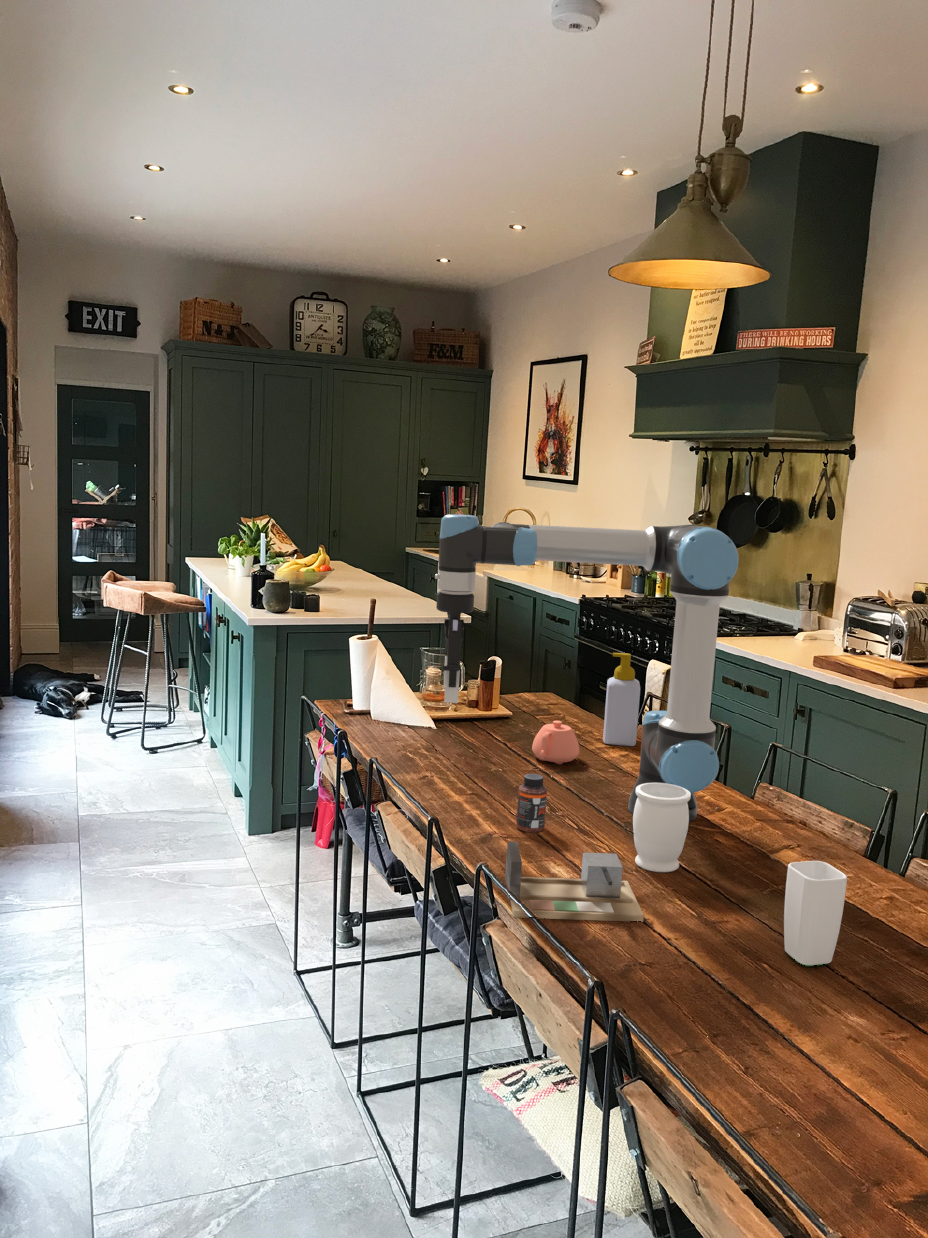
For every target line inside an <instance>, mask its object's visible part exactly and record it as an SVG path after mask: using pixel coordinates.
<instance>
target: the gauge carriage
mask: <svg viewBox="0 0 928 1238" xmlns="http://www.w3.org/2000/svg"><path fill="white" fill-rule="evenodd" d="M581 859H582V861H581V863H582V864H581V875H580V879H581V887H582V889H583V892H584V895H585V897H602V898H620V894H621V882H622V881H623V880H622V879H623V869H624V867H623V865H622V862H621V860H620V859H619V857H618V855H617V853H609V852H607V853H606V852H605V853H604V852H603V853H602V852H585V851H584V852H582V858H581Z"/></svg>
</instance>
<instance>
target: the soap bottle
mask: <svg viewBox="0 0 928 1238" xmlns="http://www.w3.org/2000/svg"><path fill="white" fill-rule="evenodd" d="M612 657H615V658H617V657H618V658H620V665H618V666H617V667H615V669H614V674H613V676H612V677H609V678H607V680H606V681H607V682H606V683H607V684H606V696H605V697H606V698H605V707H604V721H603V724H604V725H603V732H602V733H603V736H602V737H603V738H602V741H603V743H604V744H607V745H614V746H615V745H616V746H622V747H623V746H625V747H634V746H635V745H637V735H638V734H637V733H638V725H639V724H638V723H639V711H640V710H639V709H640V698H641V697H640V696H641V685H640V681H639V680H638V679H636V678H635V676H636V671H635V669H634V668H633V667H632V666H631V657H632V655H631V653H627V652H626V653H625V652H612Z"/></svg>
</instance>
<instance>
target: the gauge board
mask: <svg viewBox="0 0 928 1238" xmlns="http://www.w3.org/2000/svg"><path fill="white" fill-rule="evenodd" d="M522 864H523V860H522V856H521V851H520V847H519V843H518V841H507V844H506V859H505V872H504V873H505V874H504V880H505V884H507V886H508V887H509V889H510V891H511V892H512V893H513V894H514V895H515V896H516V897H518V898H519V899H520V900H521V901H522V902H524V904H525V905H526V906H527V907H528V908H529V909H530V910H531V911H532V912H533V913H534V914H536V915H537V916H538V917H539V918H538V919H544V918H545V920H546V919H550V920H551V919H552V920H576V921H578V920H579V921H580V920H581V921H600V922H601V921H605V922H606V921H607V922H609V921H610V922H630V921H637V923H639V922H638V921H641V922H640V923H643V922H644V918H645V917H644V916H645V915H644V913H643V911H642V909H641V907H640V904H639V902H638V901H637V898H636V895H635V894H634V891H633V890H632V887H631V885H630V883H629V881H628V880H622V882H621V894H620V898H602V897H585V895H584V892H583V889H582V887H581V878H566V877H565V878H560V877H539V876H538V877H537V876H536V877H534V876H532V877H531V876H522V866H523V865H522ZM507 886H506V887H507ZM507 897H508V901H510V907H511V912H512V917H513V918H518V919H520V918H521V919H523V918H524V919H530V918H529V917H528V916H527V915H526V914H525V911H524V910H523V909H522V908H521V907H520V906H519V905H518V904H516V903H515V902H514V901H513V900H512V899H511V898H510V895H508V894H507Z"/></svg>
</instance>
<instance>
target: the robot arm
mask: <svg viewBox="0 0 928 1238" xmlns="http://www.w3.org/2000/svg"><path fill="white" fill-rule="evenodd" d="M438 542H439V544H438V545H439V546H438V573H436V574H435V575H434V579H436V580H437V589H438V592H437V594H436V605H435V606H436V607H435V608H436V610H438V611H439V612H442V613H446V615H447V618H444V620H443V621H444V625H443V626H444V628H443V629H444V635H445V637H444V638H445V646H444V647H445V648H444V650H445V652H444V654H445V655H444V665H443V667H442V671H443V672H444V673H443V688H444V700H443V701H444V703H445V704H446V703H449V704H458V703H459V693H460V692H459V691H460V674H461V667H462V666H461V655H462V653H461V652H462V650H461V646H462V644H461V643H462V642H463V637H464V635H463V634H464V631H465V630H464V629H465V621H464V620H465V619H461V618H462V617H461V615H462V614H469V613H472V612H473V611H474V610H475V609H474V604H475V595H474V593H473V592H474V591H476V577H477V576H476V574H477V573H476V571H477V570H476V569H477V568H476V566H477V564H488V565H489V564H491V565H503V566H504V565H505V566H507V565H508V566H516V567H521V566H533V565H534V564H535V562H536V561H543V562H544V561H545V562H561V563H562V562H563V563H581V564H582V563H583V564H603V565H617V566H619V565H620V566H639V567H643V568H644V569H645V570H646V571H647V572H660V573H665V574H668V575H670V586H669V592H670V594H671V595H672V596H673V597H674V599H675V601H676V602H675V603H676V604H675V615H674V616H675V617H674V625H673V626H674V627H673V637H672V648H671V649H672V652H671V663H670V673H669V686H668V696H667V709H666V710H650V711H647V712H645V714H644V715H643V722H642V724H641V726H642V729H641V730H642V731H641V732H642V733H641V744H640V745H641V746H640V755H639V756H640V757H639V768H638V769H639V770H638V772H639V773H638V777H637V780H636V781H635V784H634V787H633V789H632V791H631V793H630V796H629V797H628V805H627V806H628V808H627V809H628V811H629V812H630V813H631V814H632V815H633V813H634V808H635V804H636V800H637V798H638V796H637V795H636V792H635V791H636V787H637V786H638V785H640V784H644V783H666V784H672V785H676V786H680V787H682V788H685V789H687V790H688V791H689V792H690V793H691V798H690V800H689V801H688V802H687V804H688V809H689V823H690V822H693V821H694V820H696V819H697V818H698V817H697V816H698V804H697V798H696V794H695V793H697V792H700V791H703V790H705V789H706V788H707V787H708V786H710V785H711V784H712V783H713V782H715V781H714V780H716V778H717V776H718V773H719V768H720V762H719V756H718V754H717V752H716V749H715V743H716V742H715V741H716V731H717V727H716V725H715V724H714V722H713V721H712V720H711V718H710V715H711V714H710V713H711V703H712V702H711V701H712V691H713V682H714V670H715V659H716V648H717V637H718V629H719V628H718V626H719V618H720V617H719V615H720V607H721V603H722V602H723V601H725V600H726V599H727V598H729V592H730V584H731V583H730V582H731V580H732V579H733V578H734V576H735V575H736V573H737V571H738V568H739V561H740V560H739V553H738V549H737V547H736V545H735V543H734V542H733V540H732V539H731V538H730V537H729V536H728V535H726V534H725V533H724V532H723V531H721V530H719V529H717V528H714V527H710V526H703V525H700V524H682V525H681V524H680V525H670V526H669V525H668V526H665V525H664V526H654V525H653V526H652V525H651V526H648V527H647V528H646V529H645V530H643V529H642V530H640V529H622V528H621V529H619V528H602V527H601V528H600V527H580V526H563V525H562V526H560V525H544V524H543V525H542V524H541V525H540V524H520V523H519V524H518V523H510V522H505V521H504V522H502V521H501V522H498V523H495V524H493V525H492V526H486V525H480V523H479V517H478V516H476V515H471V514H470V515H469V514H449V513H448V514H446V515H444V516H443V517H441V521H440V531H439V541H438Z"/></svg>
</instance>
